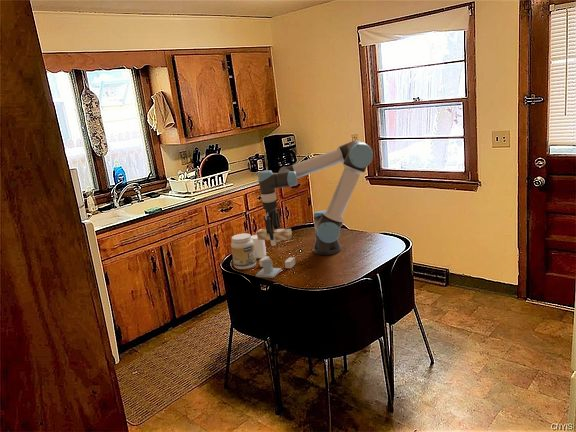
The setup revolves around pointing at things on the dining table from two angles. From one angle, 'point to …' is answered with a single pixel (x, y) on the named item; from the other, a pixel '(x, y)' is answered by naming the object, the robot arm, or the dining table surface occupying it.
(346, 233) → the dining table surface
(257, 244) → the white tapered cup
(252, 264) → the supplement tub
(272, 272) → the pale grey stand
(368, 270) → the dining table surface
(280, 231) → the bar
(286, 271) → the dining table surface
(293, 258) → the rack
